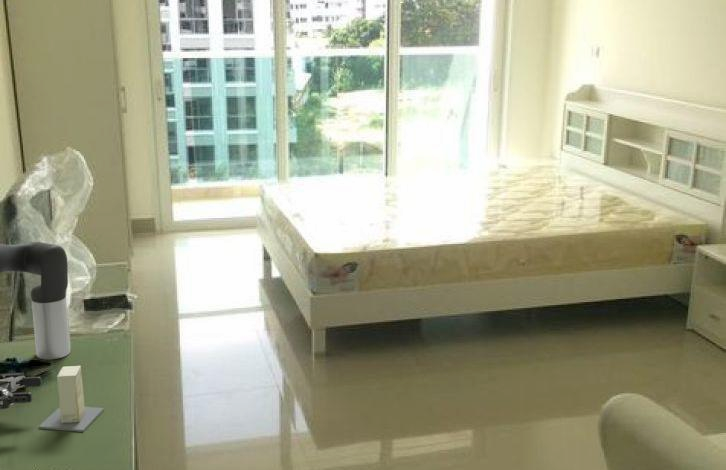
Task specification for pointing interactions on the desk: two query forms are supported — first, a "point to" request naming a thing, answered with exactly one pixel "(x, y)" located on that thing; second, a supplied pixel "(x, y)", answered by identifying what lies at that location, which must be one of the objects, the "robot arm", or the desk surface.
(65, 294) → the robot arm
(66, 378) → the skincare box
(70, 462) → the desk surface
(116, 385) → the desk surface
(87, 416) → the grey flat square slab
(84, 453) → the desk surface
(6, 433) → the desk surface
